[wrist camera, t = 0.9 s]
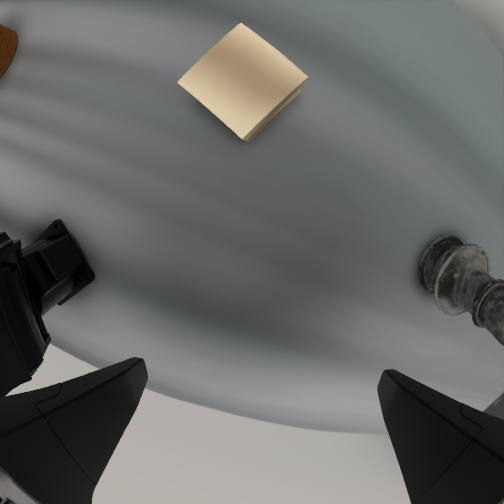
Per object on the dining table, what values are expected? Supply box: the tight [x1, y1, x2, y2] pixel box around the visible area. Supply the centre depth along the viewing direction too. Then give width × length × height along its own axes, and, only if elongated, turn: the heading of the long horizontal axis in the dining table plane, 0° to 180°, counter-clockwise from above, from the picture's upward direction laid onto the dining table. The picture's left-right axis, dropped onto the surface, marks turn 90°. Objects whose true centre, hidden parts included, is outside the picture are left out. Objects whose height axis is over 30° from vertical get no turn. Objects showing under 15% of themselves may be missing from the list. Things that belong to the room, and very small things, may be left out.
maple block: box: [177, 23, 308, 143], centre depth 16 cm, size 5×5×5 cm
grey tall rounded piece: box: [419, 235, 504, 345], centre depth 16 cm, size 6×6×12 cm
